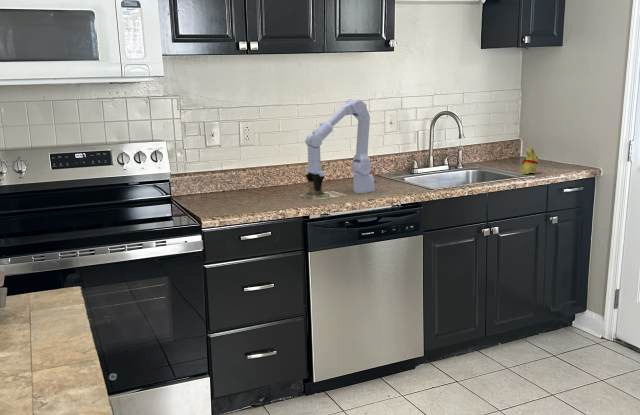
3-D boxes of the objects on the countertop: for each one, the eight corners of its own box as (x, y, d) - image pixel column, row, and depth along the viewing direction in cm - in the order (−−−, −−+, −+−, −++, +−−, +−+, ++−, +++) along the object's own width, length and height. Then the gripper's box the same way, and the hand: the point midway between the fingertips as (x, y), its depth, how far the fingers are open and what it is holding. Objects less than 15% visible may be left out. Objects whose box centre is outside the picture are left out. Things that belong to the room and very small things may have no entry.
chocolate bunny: (540, 173, 342) (541, 145, 339) (527, 175, 336) (528, 147, 333) (530, 172, 347) (531, 144, 344) (516, 174, 342) (517, 146, 339)
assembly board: (332, 193, 304) (332, 188, 303) (348, 197, 292) (347, 192, 291) (299, 197, 295) (298, 192, 295) (313, 202, 283) (313, 197, 283)
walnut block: (317, 193, 294) (317, 180, 293) (322, 194, 290) (321, 181, 289) (308, 194, 292) (308, 181, 291) (313, 195, 288) (313, 182, 287)
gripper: (299, 159, 292) (300, 188, 295) (314, 163, 280) (315, 193, 283) (312, 158, 296) (313, 187, 298) (328, 161, 283) (328, 191, 286)
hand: (315, 190), depth 291 cm, fingers closed on walnut block, 4 cm apart
